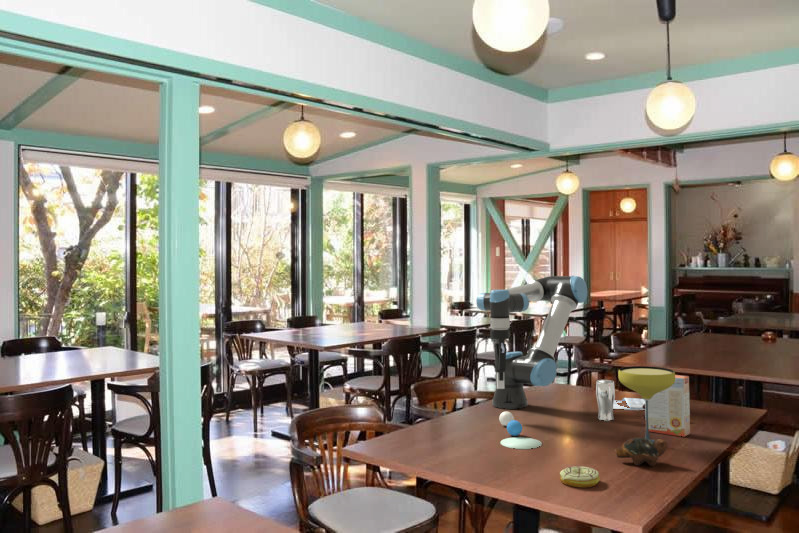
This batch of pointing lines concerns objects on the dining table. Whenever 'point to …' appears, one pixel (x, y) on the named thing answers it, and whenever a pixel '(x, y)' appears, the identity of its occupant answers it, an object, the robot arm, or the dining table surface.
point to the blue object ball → (514, 428)
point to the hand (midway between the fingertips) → (500, 388)
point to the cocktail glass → (646, 382)
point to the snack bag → (630, 404)
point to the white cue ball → (505, 418)
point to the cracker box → (670, 409)
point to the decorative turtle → (642, 450)
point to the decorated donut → (579, 476)
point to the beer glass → (605, 399)
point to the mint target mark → (521, 443)
